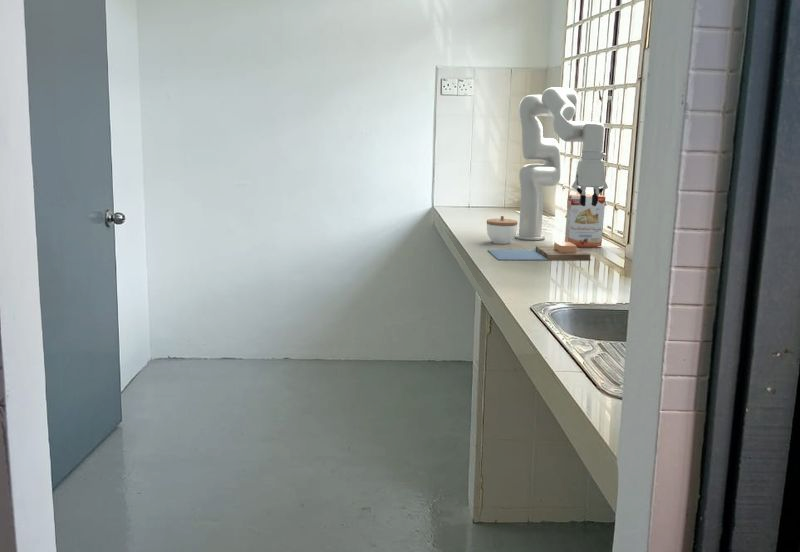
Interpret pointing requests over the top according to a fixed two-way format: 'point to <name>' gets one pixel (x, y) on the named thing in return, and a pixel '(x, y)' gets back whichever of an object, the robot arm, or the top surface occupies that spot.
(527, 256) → the mat
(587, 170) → the robot arm
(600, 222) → the cracker box
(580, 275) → the top surface
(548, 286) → the top surface
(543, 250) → the board
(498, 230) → the lidded bowl
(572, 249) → the block
